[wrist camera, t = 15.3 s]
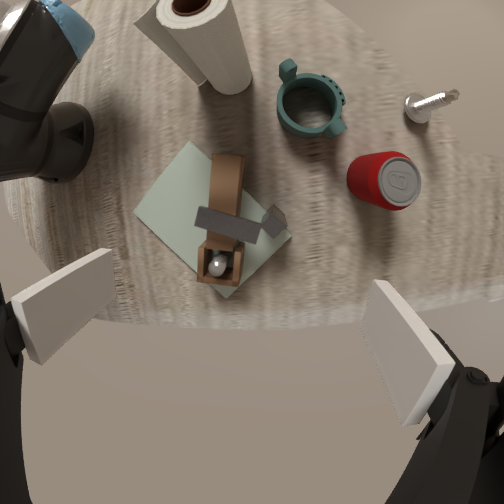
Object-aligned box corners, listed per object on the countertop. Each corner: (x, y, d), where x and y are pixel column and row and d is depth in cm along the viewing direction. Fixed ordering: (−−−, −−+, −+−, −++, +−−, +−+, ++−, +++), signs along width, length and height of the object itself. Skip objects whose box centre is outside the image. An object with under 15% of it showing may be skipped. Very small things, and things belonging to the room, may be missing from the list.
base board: (136, 210, 41) (133, 212, 40) (191, 141, 37) (189, 140, 36) (227, 295, 44) (226, 298, 42) (291, 234, 40) (291, 236, 39)
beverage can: (381, 205, 37) (419, 219, 26) (340, 194, 38) (367, 204, 26) (390, 162, 35) (431, 161, 24) (349, 150, 36) (379, 142, 24)
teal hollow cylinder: (329, 145, 36) (345, 138, 27) (267, 128, 36) (265, 115, 27) (342, 91, 33) (360, 71, 25) (281, 74, 33) (283, 49, 25)
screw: (419, 95, 32) (427, 124, 33) (395, 96, 32) (404, 126, 34) (464, 76, 19) (476, 113, 20) (437, 73, 20) (450, 113, 21)
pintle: (216, 253, 40) (205, 268, 34) (225, 243, 40) (215, 257, 34) (226, 262, 41) (216, 279, 34) (235, 253, 40) (227, 268, 34)
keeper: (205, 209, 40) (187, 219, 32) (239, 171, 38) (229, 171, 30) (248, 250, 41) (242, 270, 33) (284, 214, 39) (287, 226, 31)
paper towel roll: (259, 68, 33) (242, -17, 13) (241, 101, 35) (205, 34, 15) (216, 53, 33) (167, -27, 12) (197, 85, 35) (130, 22, 14)
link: (213, 155, 36) (204, 153, 32) (253, 158, 36) (249, 156, 31) (205, 269, 41) (196, 281, 37) (242, 273, 41) (238, 287, 36)
